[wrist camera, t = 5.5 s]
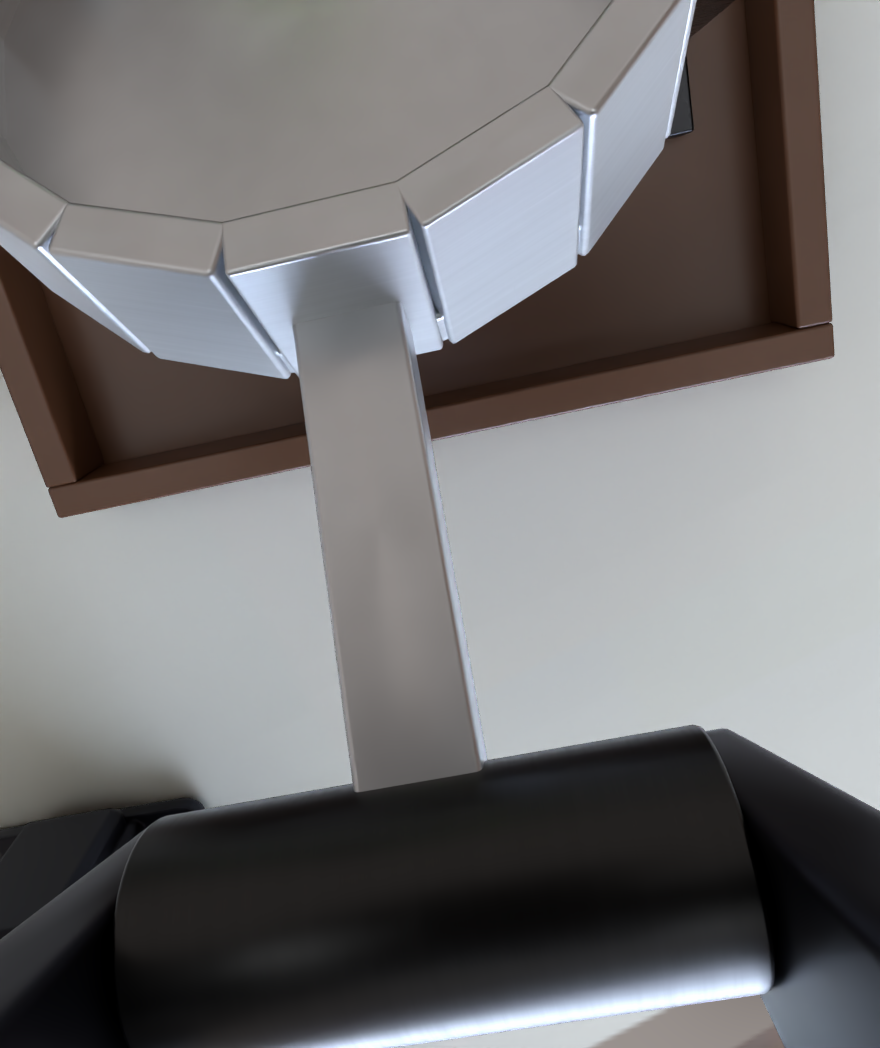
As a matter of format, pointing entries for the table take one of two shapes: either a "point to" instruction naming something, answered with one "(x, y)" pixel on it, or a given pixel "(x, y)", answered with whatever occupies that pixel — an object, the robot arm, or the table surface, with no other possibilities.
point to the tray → (517, 334)
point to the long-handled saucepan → (377, 496)
